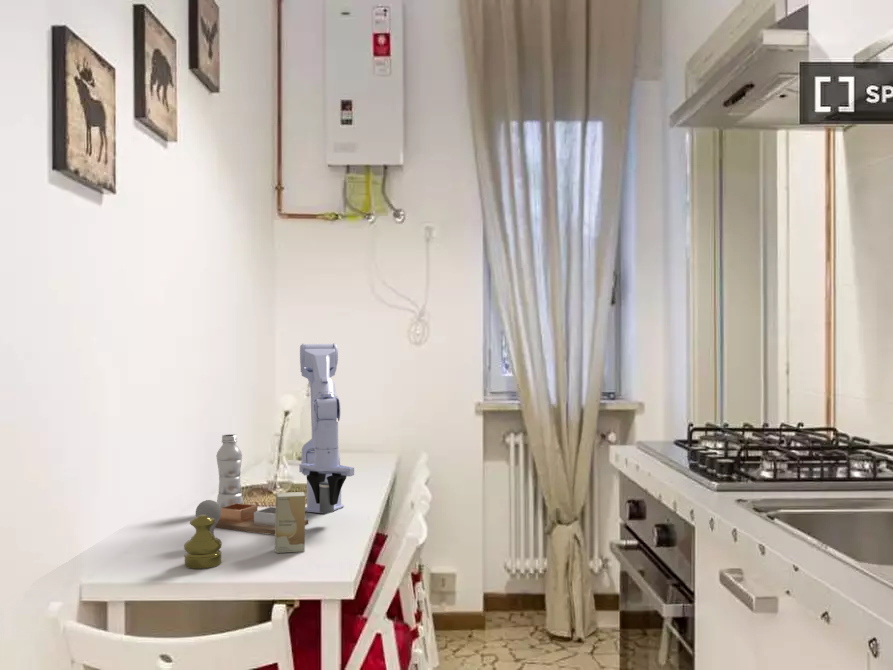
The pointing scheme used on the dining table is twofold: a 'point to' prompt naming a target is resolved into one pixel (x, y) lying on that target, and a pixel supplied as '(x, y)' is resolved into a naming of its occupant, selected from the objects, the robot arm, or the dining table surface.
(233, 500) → the plastic bottle
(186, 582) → the dining table surface
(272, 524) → the steel collar
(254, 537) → the dining table surface
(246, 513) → the copper collar
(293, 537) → the skincare box
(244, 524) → the walnut board
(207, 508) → the light bulb
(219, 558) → the gold chess piece
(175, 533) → the dining table surface
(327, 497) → the grey domed cylinder
